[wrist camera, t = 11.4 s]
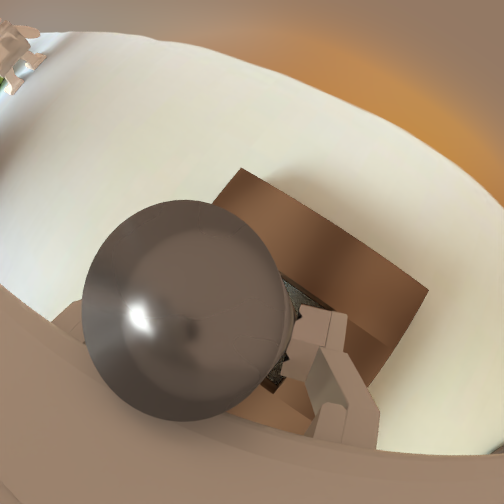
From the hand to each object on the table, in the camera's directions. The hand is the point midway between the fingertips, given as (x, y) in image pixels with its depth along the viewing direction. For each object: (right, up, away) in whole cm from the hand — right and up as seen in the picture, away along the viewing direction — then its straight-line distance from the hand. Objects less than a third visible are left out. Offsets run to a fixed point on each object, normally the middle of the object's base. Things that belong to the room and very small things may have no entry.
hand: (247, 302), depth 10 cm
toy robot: (-42, +35, +26) cm, 61 cm away
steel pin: (+1, -2, +6) cm, 6 cm away
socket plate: (+1, -3, +8) cm, 8 cm away
